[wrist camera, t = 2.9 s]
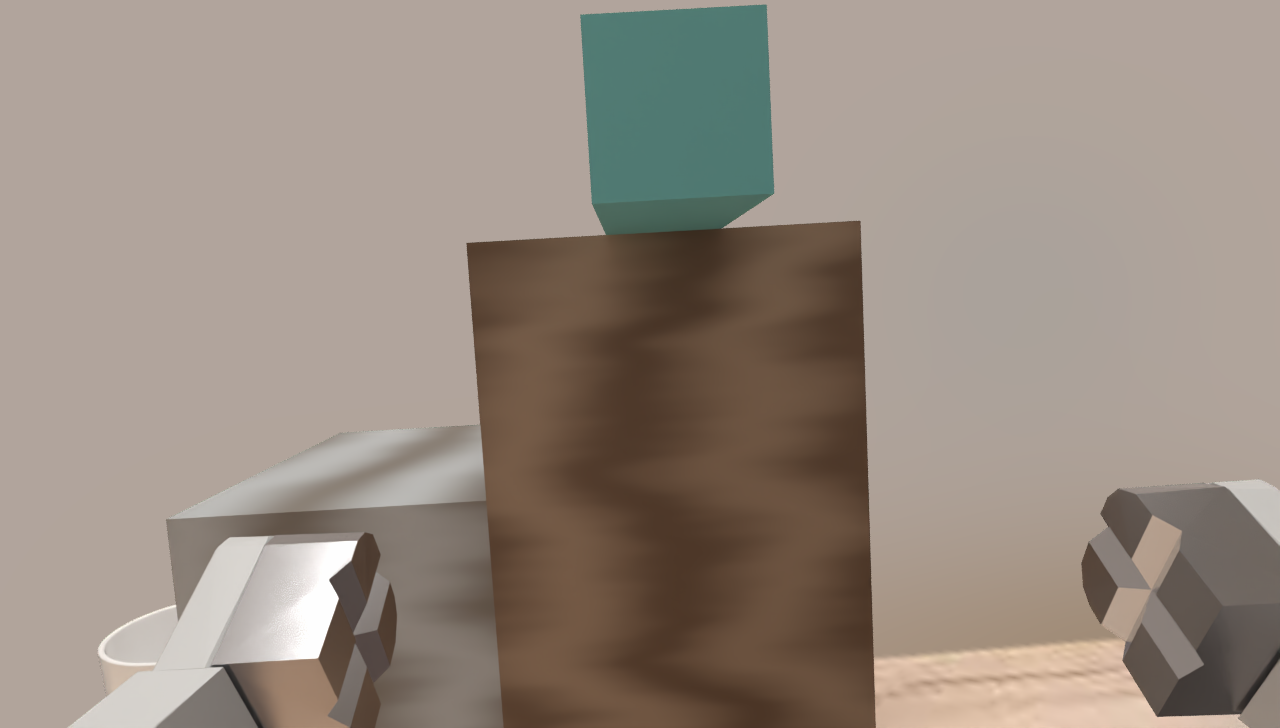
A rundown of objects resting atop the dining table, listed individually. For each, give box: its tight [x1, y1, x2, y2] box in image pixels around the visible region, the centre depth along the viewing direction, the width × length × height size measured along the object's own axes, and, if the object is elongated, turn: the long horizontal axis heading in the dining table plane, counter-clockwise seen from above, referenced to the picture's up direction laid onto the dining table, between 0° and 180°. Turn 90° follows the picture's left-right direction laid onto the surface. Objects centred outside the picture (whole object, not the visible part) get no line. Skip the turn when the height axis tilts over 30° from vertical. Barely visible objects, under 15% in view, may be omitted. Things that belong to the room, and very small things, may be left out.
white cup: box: [98, 605, 178, 697], centre depth 38 cm, size 8×8×10 cm
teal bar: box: [581, 5, 774, 235], centre depth 27 cm, size 4×24×4 cm, turn 1°
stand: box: [166, 221, 876, 728], centre depth 33 cm, size 22×15×26 cm
